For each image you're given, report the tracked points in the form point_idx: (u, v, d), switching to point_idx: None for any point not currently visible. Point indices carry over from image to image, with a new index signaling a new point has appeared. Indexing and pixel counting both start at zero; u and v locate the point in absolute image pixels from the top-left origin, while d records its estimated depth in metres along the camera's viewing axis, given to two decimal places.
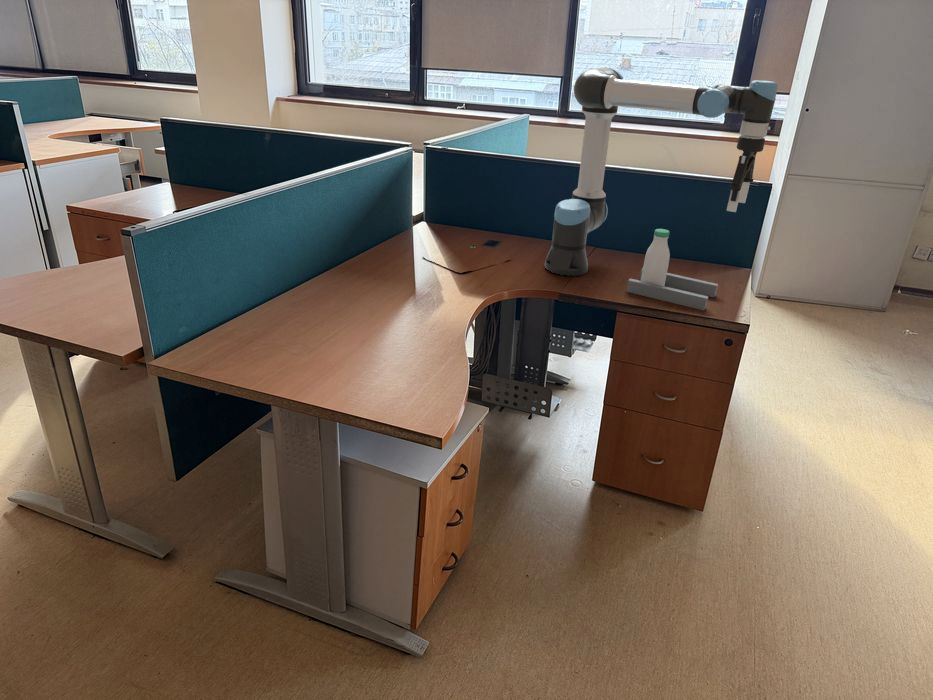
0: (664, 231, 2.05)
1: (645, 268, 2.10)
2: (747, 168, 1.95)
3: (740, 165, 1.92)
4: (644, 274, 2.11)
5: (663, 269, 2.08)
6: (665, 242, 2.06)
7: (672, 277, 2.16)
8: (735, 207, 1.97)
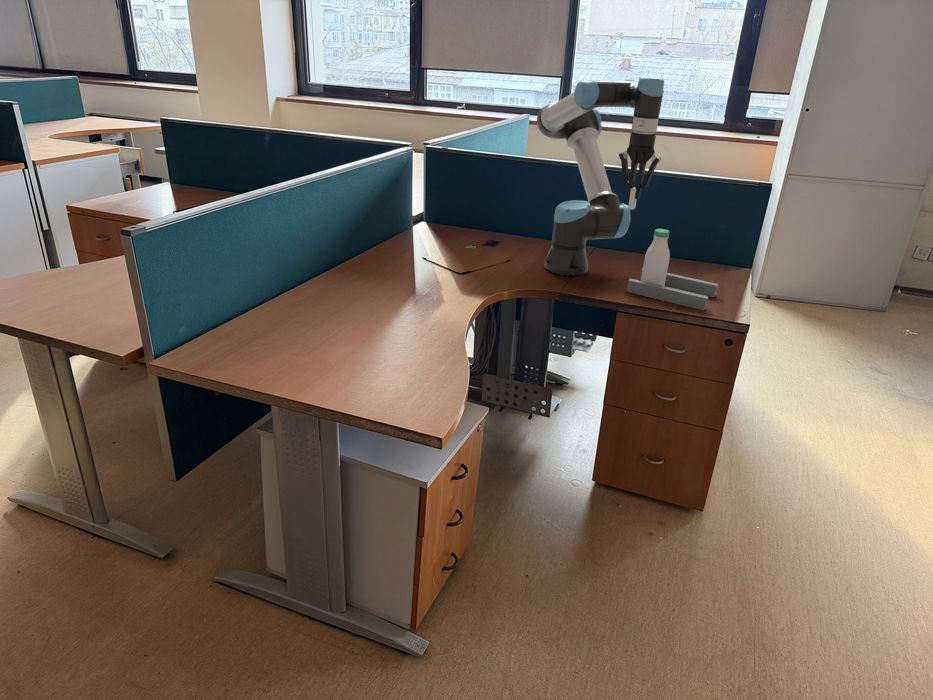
0: (664, 231, 2.05)
1: (645, 268, 2.10)
2: (631, 164, 2.02)
3: None
4: (644, 274, 2.11)
5: (663, 269, 2.08)
6: (665, 242, 2.06)
7: (672, 277, 2.16)
8: None
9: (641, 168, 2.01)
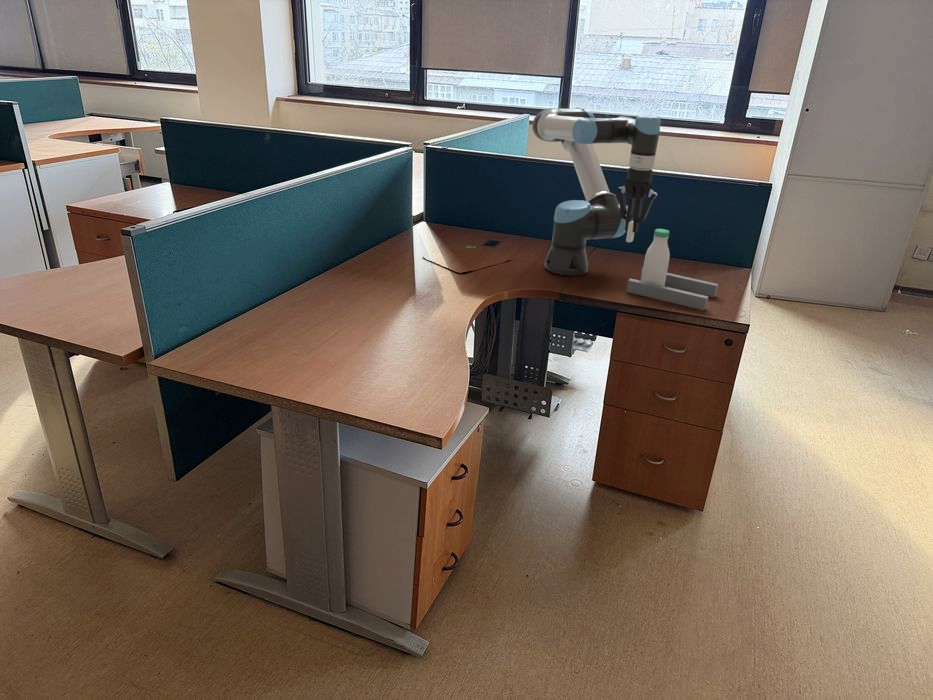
0: (664, 231, 2.05)
1: (645, 268, 2.10)
2: (628, 199, 2.06)
3: None
4: (644, 274, 2.11)
5: (663, 269, 2.08)
6: (665, 242, 2.06)
7: (672, 277, 2.16)
8: None
9: (638, 203, 2.05)
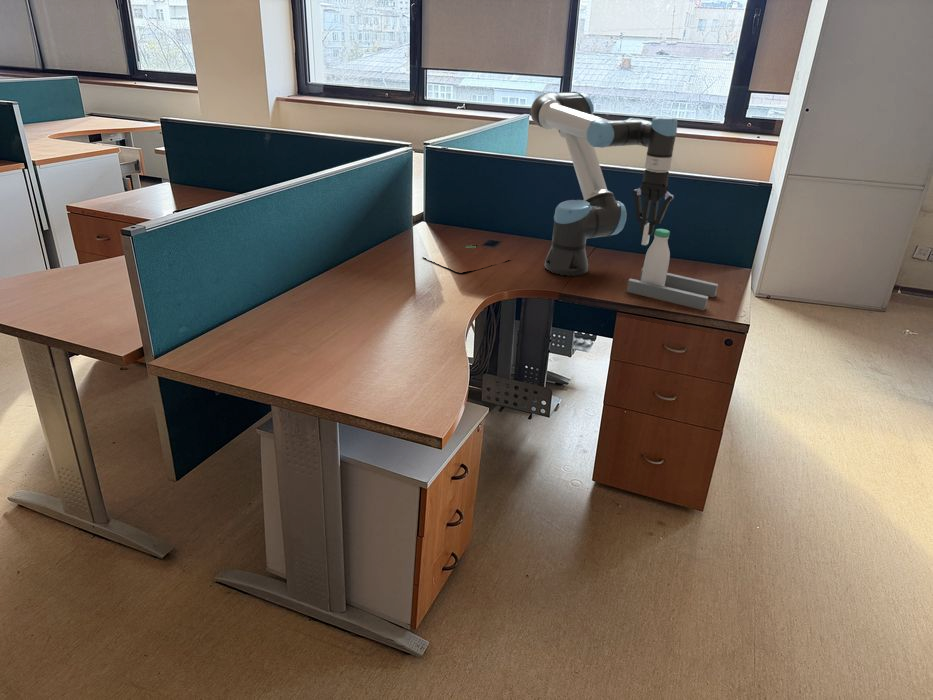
0: (664, 231, 2.05)
1: (645, 268, 2.10)
2: None
3: None
4: (644, 274, 2.11)
5: (663, 269, 2.08)
6: (665, 242, 2.06)
7: (672, 277, 2.16)
8: None
9: (654, 205, 2.03)
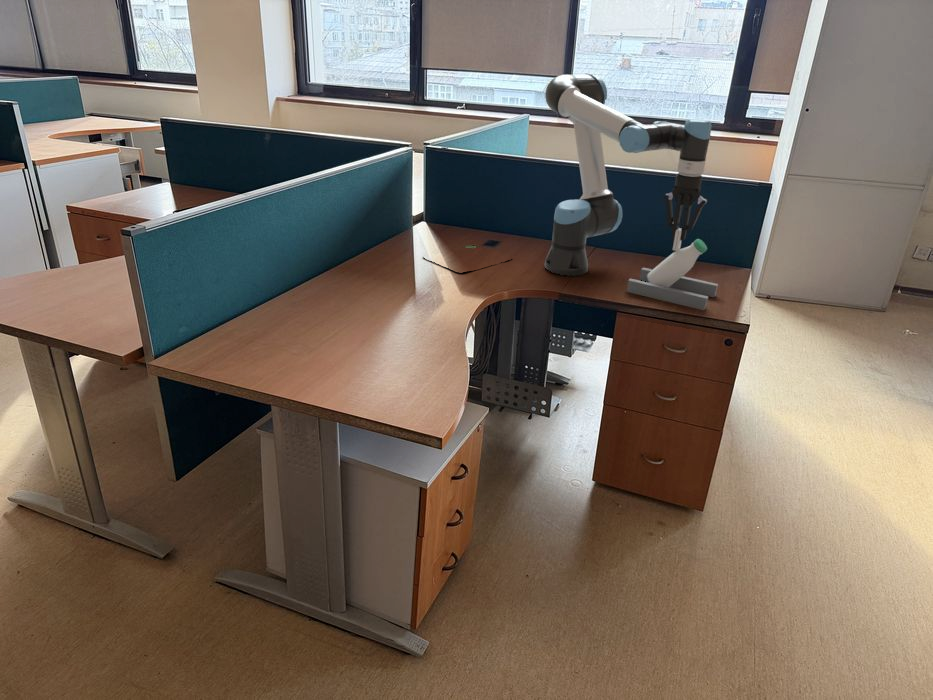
0: (703, 246, 2.00)
1: (664, 265, 2.07)
2: None
3: None
4: (659, 269, 2.08)
5: (678, 277, 2.07)
6: (697, 256, 2.02)
7: None
8: (673, 245, 2.05)
9: (687, 210, 1.98)
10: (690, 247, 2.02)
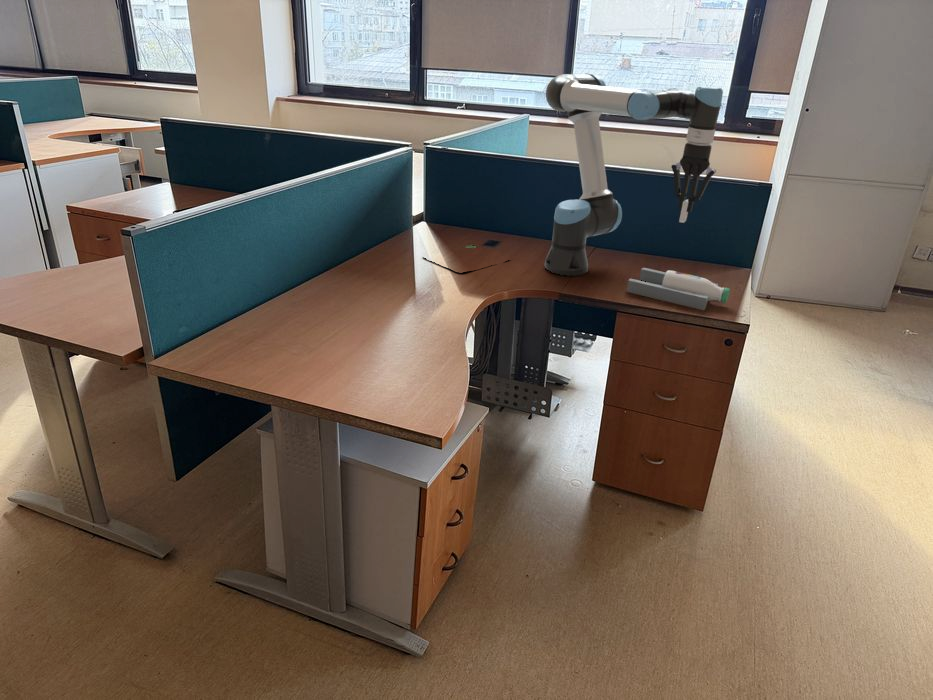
0: None
1: (686, 284, 2.04)
2: (684, 176, 1.95)
3: None
4: (680, 283, 2.05)
5: None
6: (715, 299, 2.05)
7: None
8: (680, 217, 2.00)
9: (695, 180, 1.94)
10: (718, 291, 2.02)
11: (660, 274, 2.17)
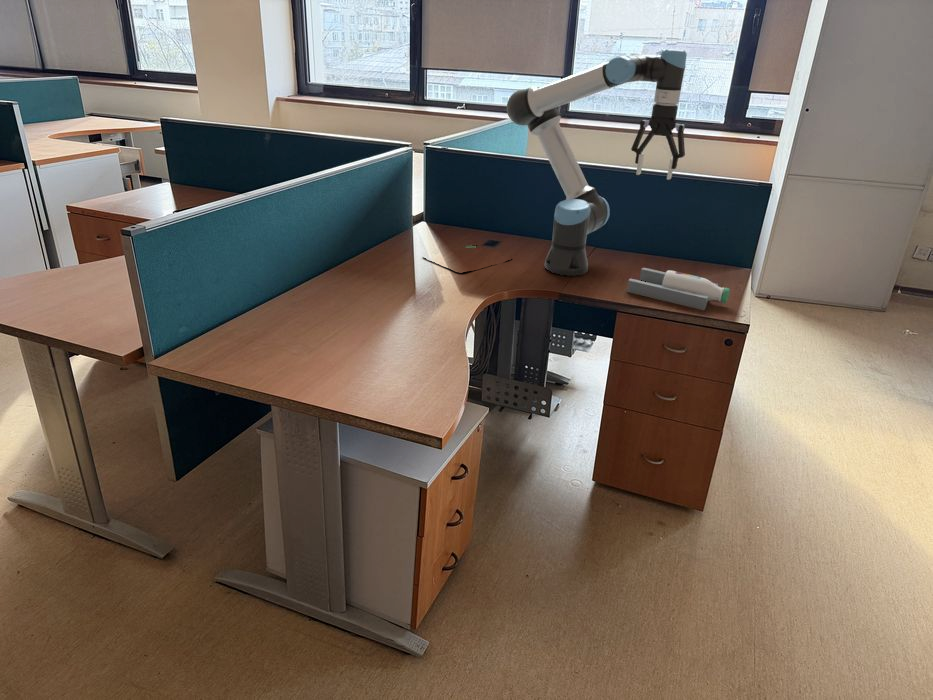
0: None
1: (686, 284, 2.04)
2: (649, 133, 2.07)
3: None
4: (680, 283, 2.05)
5: None
6: (715, 299, 2.05)
7: None
8: None
9: (669, 138, 2.05)
10: (718, 291, 2.02)
11: (660, 274, 2.17)
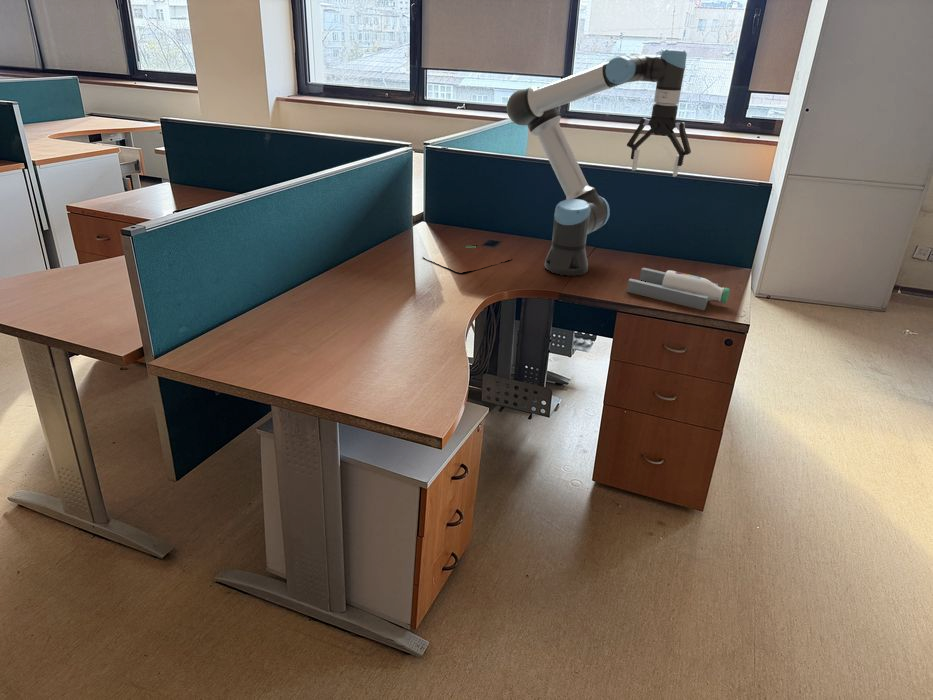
0: None
1: (686, 284, 2.04)
2: None
3: None
4: (680, 283, 2.05)
5: None
6: (715, 299, 2.05)
7: None
8: None
9: (672, 137, 2.04)
10: (718, 291, 2.02)
11: (660, 274, 2.17)
